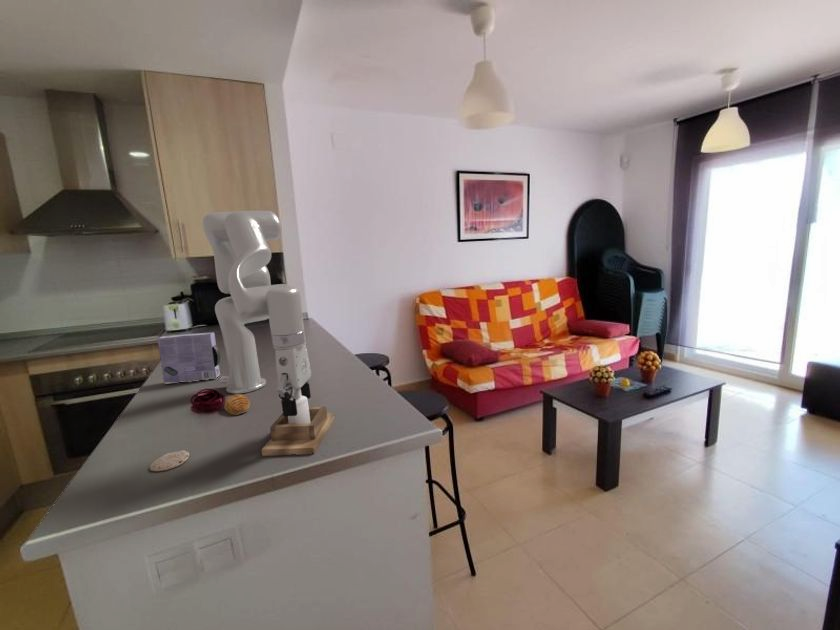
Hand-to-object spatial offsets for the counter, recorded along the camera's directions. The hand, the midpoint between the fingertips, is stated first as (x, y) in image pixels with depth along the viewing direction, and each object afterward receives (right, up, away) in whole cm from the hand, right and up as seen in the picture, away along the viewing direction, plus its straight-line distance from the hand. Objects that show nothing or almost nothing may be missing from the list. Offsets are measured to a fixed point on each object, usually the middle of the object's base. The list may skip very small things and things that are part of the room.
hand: (297, 406), depth 95 cm
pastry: (-24, -6, +20) cm, 32 cm away
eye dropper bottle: (0, -6, +1) cm, 6 cm away
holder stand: (+1, -7, +1) cm, 8 cm away
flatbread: (-27, -11, -7) cm, 30 cm away
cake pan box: (-54, -2, +49) cm, 74 cm away
